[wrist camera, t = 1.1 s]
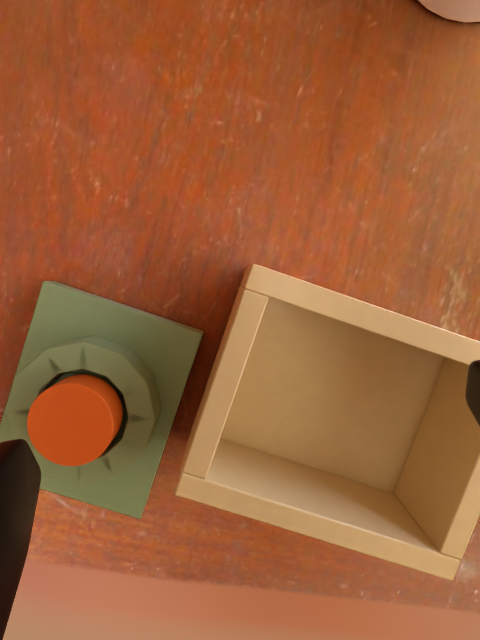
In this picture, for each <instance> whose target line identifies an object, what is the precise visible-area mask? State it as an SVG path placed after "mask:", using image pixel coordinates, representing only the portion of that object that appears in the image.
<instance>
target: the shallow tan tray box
mask: <svg viewBox="0 0 480 640" xmlns="http://www.w3.org/2000/svg"><path fill="white" fill-rule="evenodd" d="M476 360H480V342H479V341H476V340H473V339H470V338H467V337H465V336H462V335H459V334H456V333H453V332H450V331H447V330H444V329H441V328H439V327H436V326H433V325H430V324H427V323H424V322H421V321H418V320H415V319H413V318H410V317H407V316H404V315H401V314H398V313H395V312H392V311H389V310H387V309H384V308H381V307H378V306H375V305H372V304H369V303H366V302H364V301H361V300H358V299H355V298H352V297H349V296H346V295H343V294H340V293H338V292H335V291H332V290H329V289H326V288H323V287H320V286H317V285H314V284H312V283H309V282H306V281H303V280H300V279H297V278H294V277H291V276H288V275H286V274H283V273H280V272H277V271H274V270H271V269H268V268H265V267H262V266H260V265H257V264H252V265H250V266H248V267H247V268H246V270H245V273H244V276H243V279H242V281H241V284H240V287H239V290H238V293H237V296H236V299H235V302H234V305H233V308H232V311H231V314H230V317H229V320H228V323H227V326H226V328H225V331H224V334H223V337H222V340H221V343H220V346H219V349H218V352H217V355H216V358H215V361H214V364H213V367H212V370H211V372H210V375H209V378H208V381H207V384H206V387H205V390H204V393H203V396H202V399H201V402H200V405H199V408H198V411H197V414H196V417H195V419H194V422H193V425H192V428H191V431H190V434H189V437H188V440H187V444H186V448H185V452H184V456H183V460H182V464H181V468H180V472H179V476H178V481H177V485H176V489H175V495H177V496H180V497H183V498H186V499H190V500H193V501H196V502H199V503H203V504H206V505H209V506H212V507H215V508H219V509H222V510H225V511H228V512H232V513H235V514H238V515H241V516H244V517H248V518H251V519H254V520H257V521H261V522H264V523H267V524H270V525H273V526H277V527H280V528H283V529H286V530H290V531H293V532H296V533H299V534H302V535H306V536H309V537H312V538H315V539H319V540H322V541H325V542H328V543H331V544H335V545H338V546H341V547H344V548H348V549H351V550H354V551H357V552H360V553H364V554H367V555H370V556H373V557H377V558H380V559H383V560H386V561H389V562H393V563H396V564H399V565H402V566H406V567H409V568H412V569H415V570H418V571H422V572H425V573H428V574H431V575H435V576H438V577H441V578H444V579H447V580H451V581H452V580H453V578H454V576H455V574H456V571H457V569H458V566H459V564H460V559H462V557H463V554H464V552H465V550H466V547H467V545H468V542H469V540H470V537H471V535H472V532H473V530H474V527H475V525H476V523H477V520H478V518H479V515H480V426H479V425H478V423H477V421H476V419H475V417H474V416H473V414H472V412H471V410H470V409H469V407H468V405H467V402H466V397H465V391H466V383H467V375H468V368H469V365H470V363H471V362H473V361H476Z"/></svg>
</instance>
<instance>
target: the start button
mask: <svg viewBox="0 0 480 640" xmlns="http://www.w3.org/2000/svg"><path fill="white" fill-rule="evenodd" d="M122 418H123V409H122V404H121V400H120V398H119V396H118V394H117V393H116V391H115V390H114V389H113V388H112V387H111V386H110V385H109V384H108V383H107V382H105V381H104V380H102V379H100V378H98V377H95V376H92V375H86V374H79V375H73V376H69V377H67V378H64V379H63V380H61V381H59V382H57V383H56V384H54V385H53V386H51V387H49V388H48V389H46V390H45V391H43V392H42V393H41V394H40V395H39V396H38V397H37V398H36V399H35V400H34V402H33V404H32V405H31V407H30V410H29V413H28V417H27V430H28V434H29V438H30V440H31V442H32V444H33V446H34V447H35V449H36V450H37V451H38V452H39V453H40V454H41V455H42V456H43V457H45V458H46V459H47V460H49V461H51V462H53V463H56V464H59V465H63V466H79V465H83V464H87V463H89V462H91V461H93V460H95V459H96V458H98V457H99V456H100V455H101V454H102V453H103V452H104V451H105V450H106V448H107V447H108V446H109V444H110V443H111V441H112V440H113V439H114V437H115V436H116V434H117V433H118V431H119V429H120V426H121V423H122Z"/></svg>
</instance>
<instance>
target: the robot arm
mask: <svg viewBox="0 0 480 640" xmlns="http://www.w3.org/2000/svg"><path fill="white" fill-rule="evenodd" d="M465 397H466V402H467V405H468V407H469V409H470V410H471V412H472V414H473V416H474V417H475V419H476V421H477V423H478V425H479V426H480V360H476V361H473V362H471V363H470V365H469V368H468V375H467V383H466V391H465ZM40 483H41V470H40V467H39V464H38V462H37V460H36V458H35V456H34V454H33V452H32V450H31V448H30V446H29V444H28V443H27V441H26V440H24V439H14V440H8V441H3V442H1V443H0V640H2V639H3V635H4V632H5V629H6V626H7V622H8V619H9V615H10V612H11V608H12V605H13V602H14V598H15V595H16V591H17V588H18V585H19V581H20V578H21V574H22V571H23V567H24V564H25V560H26V556H27V552H28V548H29V543H30V538H31V532H32V527H33V521H34V516H35V510H36V505H37V499H38V494H39V488H40Z"/></svg>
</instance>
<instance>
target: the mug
mask: <svg viewBox="0 0 480 640" xmlns="http://www.w3.org/2000/svg"><path fill="white" fill-rule="evenodd" d="M418 1H419V2H420V3H421V4H422V5H423V6H425V7H426V8H427V9H428V10H430V11H432V12H434V13H436V14H438V15H440V16H441V17H443V18H445V19H450V20H455V21H460V22H465V23H467V22H479V21H480V0H418Z"/></svg>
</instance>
